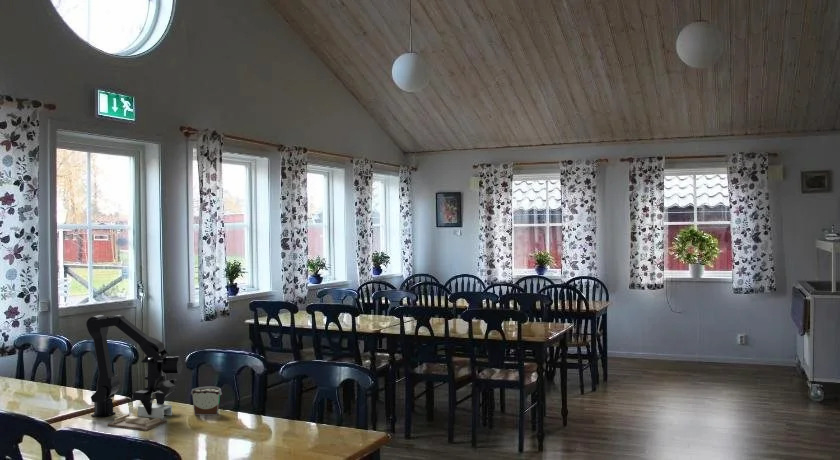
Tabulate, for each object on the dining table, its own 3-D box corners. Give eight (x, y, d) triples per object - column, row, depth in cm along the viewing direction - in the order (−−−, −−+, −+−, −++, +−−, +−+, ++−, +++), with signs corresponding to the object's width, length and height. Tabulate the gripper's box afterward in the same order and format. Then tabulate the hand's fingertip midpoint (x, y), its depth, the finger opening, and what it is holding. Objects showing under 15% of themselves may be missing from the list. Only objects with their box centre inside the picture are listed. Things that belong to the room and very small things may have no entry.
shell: (137, 416, 271) (137, 406, 270) (147, 412, 276) (147, 402, 276) (162, 419, 267) (162, 408, 267) (172, 415, 272) (172, 405, 272)
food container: (226, 411, 277) (226, 386, 277) (220, 415, 271) (220, 390, 271) (197, 410, 278) (197, 385, 278) (190, 414, 272) (190, 389, 272)
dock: (107, 426, 257) (107, 419, 257) (128, 418, 267) (128, 412, 267) (146, 430, 251) (146, 424, 251) (166, 422, 261) (166, 416, 261)
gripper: (154, 380, 260) (155, 421, 260) (186, 370, 277) (187, 408, 277) (131, 378, 263) (131, 418, 263) (164, 368, 281) (164, 406, 281)
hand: (154, 412), depth 271 cm, fingers closed on shell, 5 cm apart
